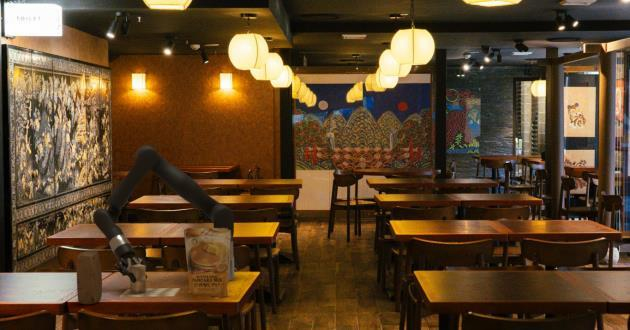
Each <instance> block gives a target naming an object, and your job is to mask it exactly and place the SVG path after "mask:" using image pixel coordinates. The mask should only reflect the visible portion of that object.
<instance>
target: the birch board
mask: <svg viewBox="0 0 630 330" xmlns="http://www.w3.org/2000/svg"><path fill="white" fill-rule="evenodd" d="M180 290H181V287H178V288H177V287H173V288H172V287H167V288H165V287H164V288H163V287H161V288H157V287H155V288H152V287H150V288H149V287H148V288H146V292H145V293H140V294H134V293H130V288H127V289H126V290H125V291H124V292H123V293H122V294H120V296H119V297H120V298H136V297H137V298H139V297H140V298H141V297H142V298H145V297H147V298H149V297H150V298H151V297H152V298H153V297H175V296H176V295H177V293H178V292H179V291H180Z"/></svg>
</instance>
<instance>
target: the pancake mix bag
mask: <svg viewBox="0 0 630 330" xmlns="http://www.w3.org/2000/svg"><path fill="white" fill-rule="evenodd" d="M183 234H184V236H183V237H184V244H185V258H186V264H187V265H186V266H187V273H188V274H187V277H188V294H192V295H200V296H201V295H205V296H206V295H211V296H210V297H223V298H226V297H228V298H229V292H228V284H229V281H228V277H229V266H230V256H231V230H228V228H213V227H187V228H185V229H183Z"/></svg>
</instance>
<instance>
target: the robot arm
mask: <svg viewBox="0 0 630 330" xmlns="http://www.w3.org/2000/svg"><path fill="white" fill-rule="evenodd" d="M149 172H152V173H154V174H155V175H156V176H158V178H160V180H161V181H163V183H164V184H166V185H167V187H169V189H170V190H171V191H173V192H174V193H175V194H176V195H178V196H179V197H180V198H182V199H183V200H184V201H186V202H187V203H189V204H191V205H192V206H194V207H196V209H197V208H198V209H199V210H200V211H201V212H202V213H204V215H206V217H207V218H208V219H209V220H210V221H211V222H212V223H213V227H212V228H228V230H231V256H230V266H229V277H228V282H229V281H233V280H234V279H235V256H234V235H235V216H234V212H233V209H232V208H230V207H229V206H227V205H224V204H222V203H220V202H219V201H217V200H216V199H214V198H213V197H211V196H210V195H209V194H208V192H206V191H205V189H204V188H203V187H202V186H201V185H200V184H199V183H198V182H197V181H196V180H194V179H193V178H192V177H191V176H189V175H188V174H186V173H185V172H184V171H182V170H181V169H179V168H178V167H176V166H174V165H173V164H171V163H170V162H169V161H167V160H166V159H165V158H164V157H163V156H161V154H159V152H158V151H157V150H156V149H155V148H154V147H153V146H151V145H143V146H140V147H138V149H137V150H136V152H135V160H134V163H133V164H132V166H131V168H130V169H129V171H128V172H127V174H126V175H125V176H124V178H123V179H121V181H120V182H119V183H118V184H117V185H116V186H115V188H114V190H113V191H112V193H111V194H110V196H109V197H108V198H107V203H108V205H109V206H108V207H107V209H105V208H97V209H96V210H95V211H94V212H93V216H92V217H93V222H94V224H95V225H96V226H97V227H96V228H98V229H99V230H100V232H101V233H102V234H103V235H104V237H105V239H106V240H107V242H108V243H109V246H110V249H111V250H112V252H113V254H114V256H115V257H116V259H117V261H116V263H115V264H114V268H116V269H117V271H118V272H119V273H120V274H121V275H122V276H123V277H124V276H125V277H128V279H129V281H130V280H131V282H133V283H135V282H136V281H137V279H136V278H135V276H134V274H133V273H132V270H131V267H130V266H132V265H138V264H140V265H145V269H146V270H147V269H148V265H147V262H146V258H145V257H144V256H142V257H141V258H140V257H138V256H137V255H136V251H135V250H134V249H133V246H132V244H131V242H130V241H129V239H128V237H126V235H125V233H124V232H123V231H122V229H121V227H120V226H119V225H117V224H116V223H117V221H118V220H119V218H120V215H121V213H122V209H123V208H124V206H125V204H126V203H127V202H128V200H129V199H130V197H131V195H132V194H133V193H134V192H135V190H136V188H137V186H139V184H140V182H141V181H142V180H143V179H144V177H146V175H148V173H149ZM147 279H148V275H147V274H146V280H147Z"/></svg>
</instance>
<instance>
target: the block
mask: <svg viewBox="0 0 630 330" xmlns="http://www.w3.org/2000/svg"><path fill="white" fill-rule="evenodd" d="M76 261H77V263H76V292H77V293H76V294H77V302H78V303H79V304H81V305H93V304H98V303H99V302H100V300H101V297H102V296H103V295H102V294H103V274H102V265H101V261H100V254H99V251H97V250H95V251H94V250H92V251H91V250H90V251H84V252H81V253H79V254H78V255H77V257H76Z"/></svg>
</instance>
